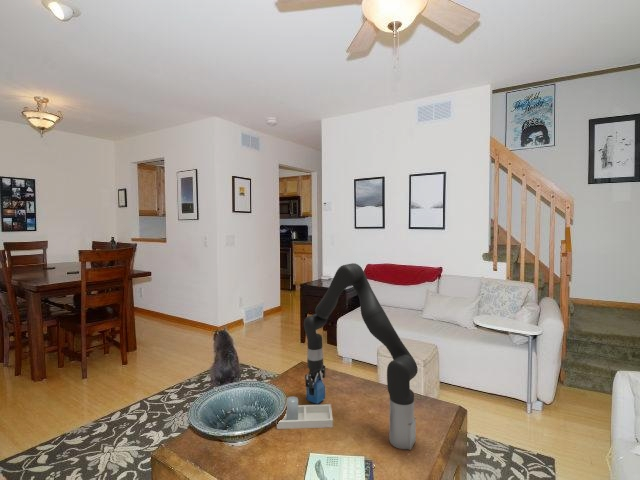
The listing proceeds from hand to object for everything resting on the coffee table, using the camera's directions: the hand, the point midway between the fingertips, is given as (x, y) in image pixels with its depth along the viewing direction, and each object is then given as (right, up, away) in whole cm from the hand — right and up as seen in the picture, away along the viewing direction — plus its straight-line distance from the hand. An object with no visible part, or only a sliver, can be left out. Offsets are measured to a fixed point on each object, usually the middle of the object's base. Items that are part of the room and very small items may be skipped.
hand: (315, 391), depth 161 cm
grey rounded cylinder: (-10, -6, -15) cm, 19 cm away
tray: (-4, -6, -15) cm, 17 cm away
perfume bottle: (0, -4, 0) cm, 4 cm away
